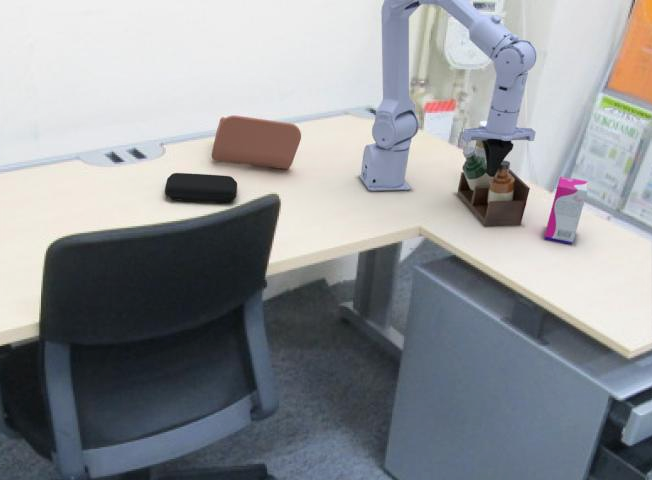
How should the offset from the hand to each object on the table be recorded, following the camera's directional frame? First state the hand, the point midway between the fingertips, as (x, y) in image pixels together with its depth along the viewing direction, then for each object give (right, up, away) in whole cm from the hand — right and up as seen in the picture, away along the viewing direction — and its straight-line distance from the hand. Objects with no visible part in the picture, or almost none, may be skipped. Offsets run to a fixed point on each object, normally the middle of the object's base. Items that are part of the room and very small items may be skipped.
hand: (490, 174), depth 180 cm
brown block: (-48, +9, +23) cm, 54 cm away
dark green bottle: (+1, -1, +11) cm, 11 cm away
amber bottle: (+3, -6, +6) cm, 9 cm away
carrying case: (-59, -3, +6) cm, 60 cm away
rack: (+2, -5, +10) cm, 11 cm away
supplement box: (+14, -12, +1) cm, 19 cm away
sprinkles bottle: (+2, +4, +22) cm, 22 cm away
